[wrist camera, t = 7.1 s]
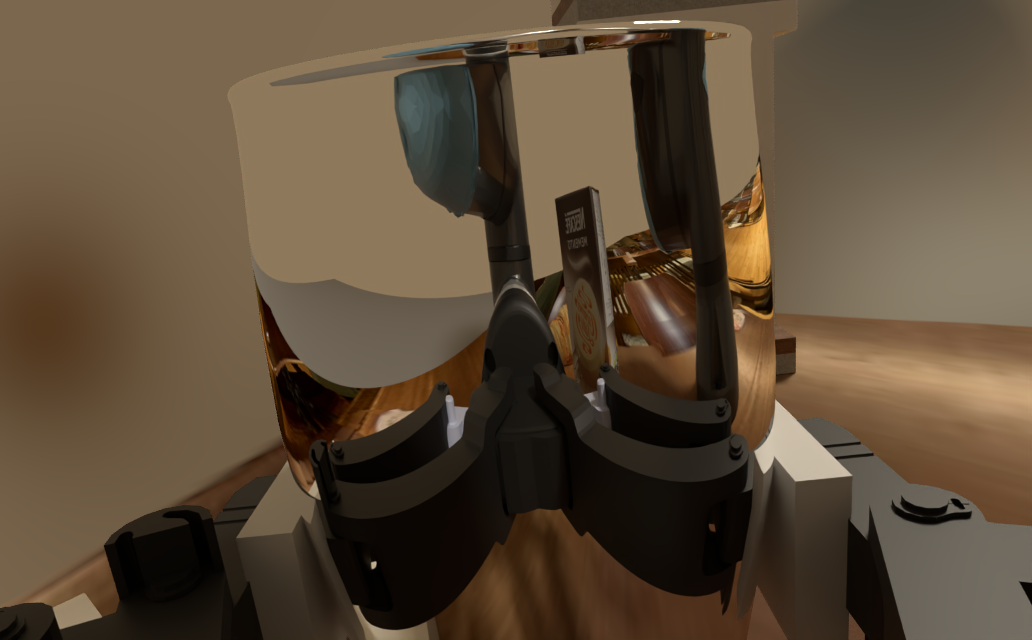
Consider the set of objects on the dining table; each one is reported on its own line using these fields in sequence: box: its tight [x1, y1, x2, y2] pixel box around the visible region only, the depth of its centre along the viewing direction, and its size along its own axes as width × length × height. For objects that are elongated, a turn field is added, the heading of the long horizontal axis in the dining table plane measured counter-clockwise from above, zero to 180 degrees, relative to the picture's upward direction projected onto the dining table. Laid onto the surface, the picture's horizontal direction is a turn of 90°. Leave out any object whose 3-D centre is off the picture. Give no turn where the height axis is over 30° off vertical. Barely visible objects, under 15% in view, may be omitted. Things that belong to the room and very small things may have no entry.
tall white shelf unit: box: [550, 0, 797, 375], centre depth 39 cm, size 11×11×35 cm
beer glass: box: [228, 20, 776, 640], centre depth 11 cm, size 7×7×15 cm
